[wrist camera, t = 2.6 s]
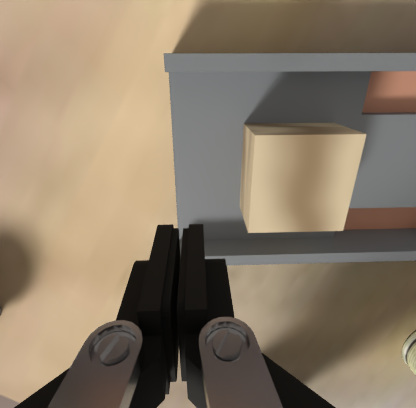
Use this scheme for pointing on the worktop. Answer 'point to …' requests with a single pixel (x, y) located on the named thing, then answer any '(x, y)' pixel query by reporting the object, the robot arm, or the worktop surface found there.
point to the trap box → (295, 113)
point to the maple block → (298, 176)
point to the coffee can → (410, 352)
